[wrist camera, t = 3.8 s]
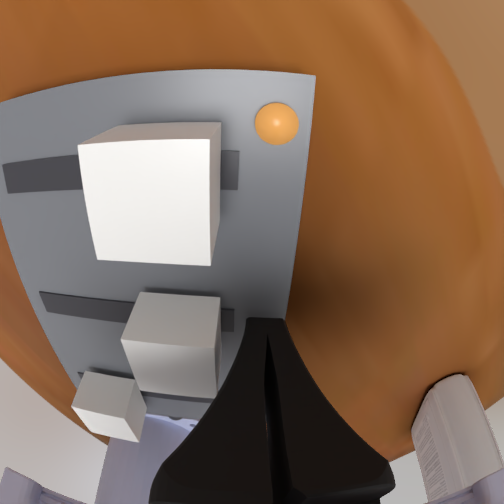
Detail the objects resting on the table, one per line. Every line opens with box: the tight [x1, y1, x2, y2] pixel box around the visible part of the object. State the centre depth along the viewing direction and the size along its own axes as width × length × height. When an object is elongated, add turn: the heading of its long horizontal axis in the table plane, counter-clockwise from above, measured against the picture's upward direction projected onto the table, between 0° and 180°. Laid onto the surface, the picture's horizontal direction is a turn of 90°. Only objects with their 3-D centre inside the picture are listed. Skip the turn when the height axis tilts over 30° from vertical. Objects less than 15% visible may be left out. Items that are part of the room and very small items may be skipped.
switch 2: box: [78, 122, 221, 266], centre depth 8 cm, size 3×3×2 cm
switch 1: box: [71, 371, 147, 443], centre depth 14 cm, size 3×3×2 cm
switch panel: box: [0, 69, 316, 421], centre depth 13 cm, size 20×12×2 cm, turn 177°
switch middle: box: [121, 292, 221, 399], centre depth 11 cm, size 3×3×2 cm
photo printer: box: [411, 374, 504, 502], centre depth 16 cm, size 10×4×12 cm, turn 14°
